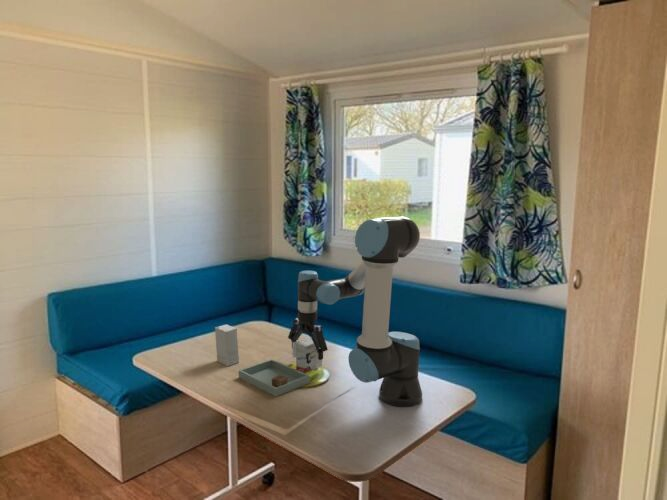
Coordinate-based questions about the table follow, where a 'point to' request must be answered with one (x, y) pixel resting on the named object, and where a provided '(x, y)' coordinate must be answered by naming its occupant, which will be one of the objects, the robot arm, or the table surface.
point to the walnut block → (279, 381)
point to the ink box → (306, 355)
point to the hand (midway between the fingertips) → (306, 361)
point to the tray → (269, 369)
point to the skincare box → (227, 345)
